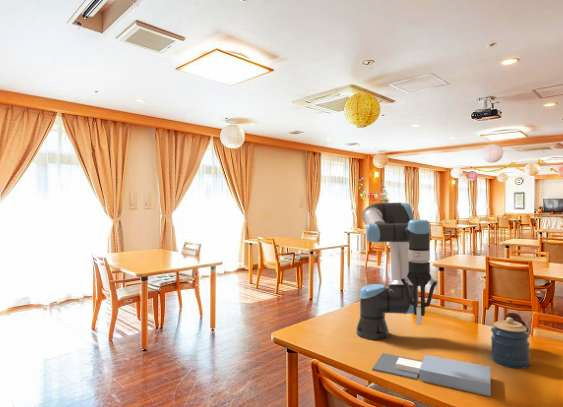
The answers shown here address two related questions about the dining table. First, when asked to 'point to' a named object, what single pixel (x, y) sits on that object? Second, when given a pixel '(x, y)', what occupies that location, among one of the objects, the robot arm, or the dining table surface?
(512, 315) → the ice cream bowl
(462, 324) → the dining table surface
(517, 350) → the canister
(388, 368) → the mat
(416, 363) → the white rectangular block
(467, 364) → the block
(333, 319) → the dining table surface
